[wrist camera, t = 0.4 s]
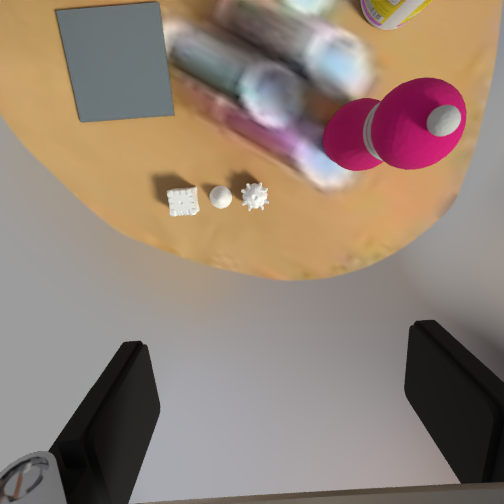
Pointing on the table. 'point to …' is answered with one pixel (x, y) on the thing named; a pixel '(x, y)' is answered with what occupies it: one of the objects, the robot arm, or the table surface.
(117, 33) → the mat
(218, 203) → the game pieces
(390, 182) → the table surface
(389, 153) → the pepper mill
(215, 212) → the table surface
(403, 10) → the supplement bottle
